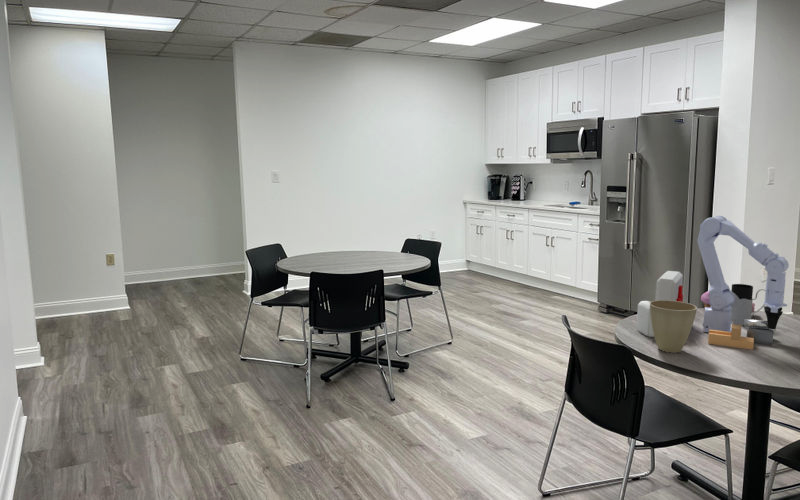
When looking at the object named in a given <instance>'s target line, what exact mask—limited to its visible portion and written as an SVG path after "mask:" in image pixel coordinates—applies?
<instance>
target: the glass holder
mask: <svg viewBox="0 0 800 500" xmlns="http://www.w3.org/2000/svg"><path fill="white" fill-rule="evenodd" d="M730 291H731V292H732V293H733V294H734V296H735V301H734V303H733V304H732V305H731V307H732V317H731V324H736V325H742V326H744V319H749V320H752V317H753V316H754V315H755V314H756V313H758V312H760V310H762V309H764V306H766V305H764V303H763V304H762V306H761V307H760V308H758V309H757V310H754V311H755V312H754V313H752V303H753V301H754V300H757V298H758V294H759V292H761V291H764V292H765V291H766V289H762V288H761V289H758V290H757V291H756V293H755V297H754V298H753V295H754V293H753V292H754V286H753V285H751V284H744V283H732V284H731V289H730Z"/></svg>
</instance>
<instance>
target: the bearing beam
mask: <svg viewBox="0 0 800 500" xmlns="http://www.w3.org/2000/svg"><path fill="white" fill-rule="evenodd" d="M742 326H743V325H738V324H733V323H731V332H727V331H718V330H709V332H708V338H707V339H708V340H707V344H708V343H709V344H710V345H715V346H724V347H731V348H739V349H746V350H754V344H755V343H754V338H749V337H747V336H742ZM709 344H708V345H709Z"/></svg>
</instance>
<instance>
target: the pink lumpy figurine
mask: <svg viewBox="0 0 800 500" xmlns="http://www.w3.org/2000/svg"><path fill="white" fill-rule="evenodd" d="M755 306H756V303H754V302H752V313H751V314H753V313H754V312H755V311H756V310H755V309H756V308H755Z"/></svg>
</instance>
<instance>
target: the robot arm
mask: <svg viewBox="0 0 800 500" xmlns="http://www.w3.org/2000/svg"><path fill="white" fill-rule="evenodd" d="M720 235H722V236H729V237H730V238H732V239H733V240H735V241H736V242H737V243H739V244H740V245H742V246H743V247H744V248H745V249H746V250H748V255H749V256H751V258H753V259H754V260H755V261H756V262H758V263H759V264H761V265H762V266H764V268H765V271H766V272H767V274H766V275H767V276H766V281H765V282H766V283H765V290H766V291H764V293H765V295H764V301H763V304H764V305H765V306H764V307H763V311H764V313H765V315H766V319H767V320H766V321H767V323H768V329H776V330H777V325H778V322H779V320H780V318H781V316H783V313H784V312H783V311H782V310H783V307H788V303H784V299H785V288H786V276H787V275H786V274H787V272H786V271H787V270H788V269H789V266H790V265H789V261H788V260H787V259H786V258H785V257H784V256H780V254H778V253H775V252H774V251H773V250H771V249H770V248H769V247H768V246H769V245H768V244H767V243H762V242H755V241H754V240H753V239H752V238H750V237H749V236H748V235H747V234H746V233H745V232H743V230H741V229H740V228H739V227H738V226H736V224H734V223H733V222H732V220H731V221H730V220H729V219H727V218H726V217H725V216H723V215H716V216H712V217H708V218H706V219H704V220H703V221H702V223H701V224H700V225H699V233H698V237H697V245H698V249H699V253H700V255H701V259H702V262H703V266H704V269H705V273H706V275H707V280H708V283H709V289H708V291H709V294H710V298H709V304H710V305H711V307H710V308H707V307H705V312H704V311H703V322H702V327H703V328H702V332H703V333H709V330H718V331H727V332H731V329H732V323H731V317H732V307H731V305H732V304H733V303H734V301H735V296H734V294H733V293H732V292H731V289H730V286H729V285H728V284H727V282H726V281H725V277H724V273H723V271H722V268H721V265H720V261H719V257H718V253H717V250H716V246H715V243H714V242H715V241H716V239H717V238H718V237H719V236H720Z"/></svg>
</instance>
